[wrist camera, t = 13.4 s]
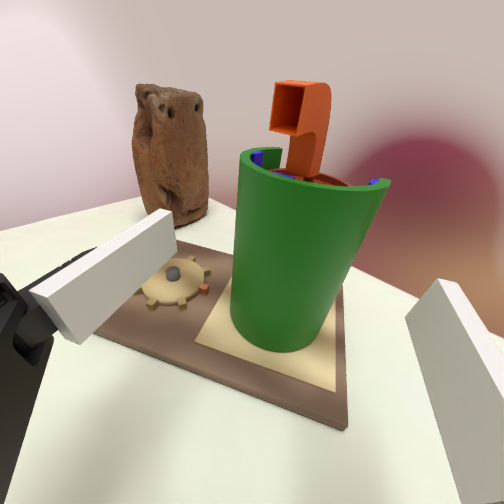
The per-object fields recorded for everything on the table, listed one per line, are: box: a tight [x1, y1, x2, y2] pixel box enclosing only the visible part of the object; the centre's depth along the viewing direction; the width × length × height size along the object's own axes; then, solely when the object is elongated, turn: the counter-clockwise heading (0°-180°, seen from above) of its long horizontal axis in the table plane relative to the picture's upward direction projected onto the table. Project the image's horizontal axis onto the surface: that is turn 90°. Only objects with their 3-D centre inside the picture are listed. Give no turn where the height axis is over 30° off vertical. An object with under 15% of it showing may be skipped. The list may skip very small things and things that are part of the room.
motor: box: [230, 80, 391, 353], centre depth 18 cm, size 10×9×20 cm
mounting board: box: [93, 240, 348, 431], centre depth 25 cm, size 16×25×3 cm, turn 73°
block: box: [132, 84, 209, 227], centre depth 35 cm, size 11×8×20 cm
